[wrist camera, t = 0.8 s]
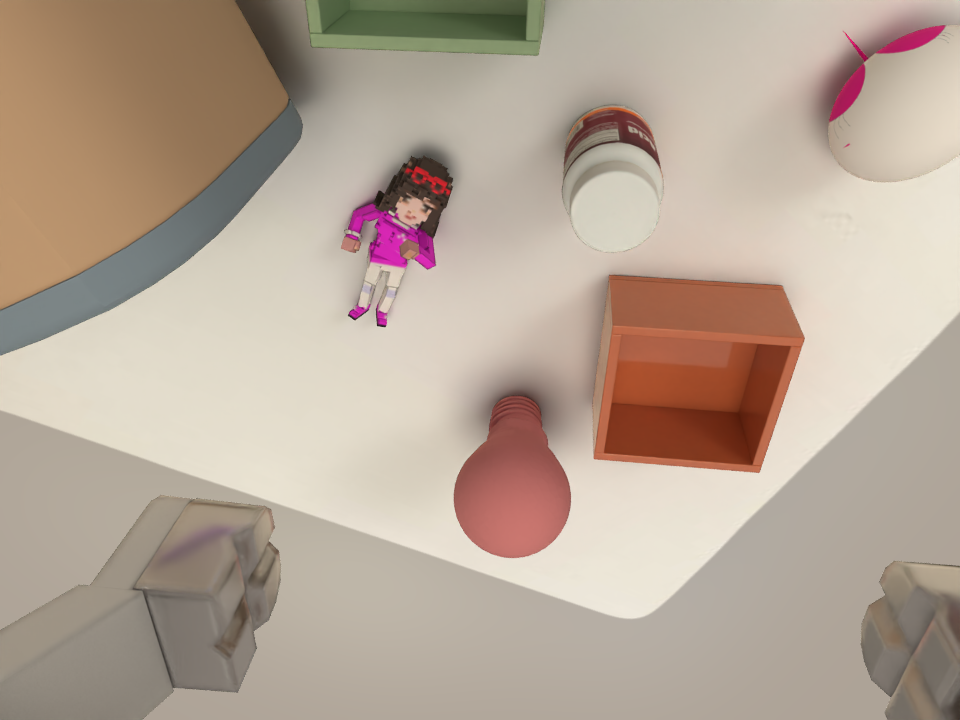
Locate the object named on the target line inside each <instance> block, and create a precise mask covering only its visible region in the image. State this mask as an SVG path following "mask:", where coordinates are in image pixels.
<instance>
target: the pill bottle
mask: <svg viewBox="0 0 960 720" xmlns="http://www.w3.org/2000/svg"><path fill="white" fill-rule="evenodd" d="M663 190H664V182H663V176H662V172H661V167H660V162H659V158H658V153H657V149H656V146H655V141H654V137H653V134H652V131H651V129H650V127H649V125H648V123H647V122H646V121H645V119H644V118H643V117H642V116H641V115H640V114H638V113H637V112H635V111H634V110H632V109H630V108H627V107H624V106H617V105H608V106H602V107H598V108H596V109H593V110H591V111H589V112H587V113H585V114H584V115H583V116H582V117H581V118H580V119H578V120H577V122H576V123H575V124H574V126H573V127H572V129H571V131H570V132H569V135H568V137H567V141H566V146H565V157H564V172H563V186H562V197H563V202H564V205H565V208H566V211H567V213H568V215H569V216H570V220H571V224H572V227H573V229H574V231H575V233H576V235H577V236H578V238H579V239H580V240H582V241H583V242H584V243H585V244H586V245H588V246H589V247H591V248H593V249H595V250H598V251H602V252H607V253H617V252H623V251H627V250H630V249H632V248H635V247H637V246H638V245H640V244H641V243H643V242H644V241H645V240H646V239H647V238H648V237H649V236H650V235H651V234H652V232H653V231H654V229H655V227H656V225H657V222H658V219H659V214H660V204H661V201H662V198H663Z"/></svg>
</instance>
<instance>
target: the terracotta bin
mask: <svg viewBox="0 0 960 720" xmlns="http://www.w3.org/2000/svg"><path fill="white" fill-rule="evenodd" d="M804 339H805V338H804V335H803V333H802V331H801V328H800V326H799V324H798V321H797V319H796V317H795V314H794V312H793V310H792V307H791V305H790V303H789V300H788V298H787V296H786V294H785V291H784V289H783V286H779V285H763V284H746V283H730V282H714V281H697V280H681V279H665V278H648V277H632V276H616V275H609V281H608V288H607V296H606V304H605V311H604V319H603V326H602V334H601V341H600V349H599V357H598V364H597V372H596V379H595V387H594V395H593V402H592V407H593V408H592V409H593V454H594V459H598V460H610V461H622V462H634V463H646V464H658V465H671V466H683V467H695V468H707V469H719V470H731V471H744V472H756V473H759V472H760V470H761V467H762V463H763V461H764V458H765V455H766V452H767V449H768V446H769V443H770V440H771V437H772V434H773V431H774V428H775V425H776V422H777V419H778V416H779V413H780V410H781V407H782V404H783V401H784V398H785V395H786V392H787V390H788V387H789V384H790V381H791V378H792V375H793V372H794V369H795V366H796V363H797V360H798V357H799V354H800V351H801V348H802V345H803V342H804Z"/></svg>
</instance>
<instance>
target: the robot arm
mask: <svg viewBox="0 0 960 720" xmlns="http://www.w3.org/2000/svg"><path fill="white" fill-rule="evenodd" d="M274 528H275V526H274V521H273V516H272V511H271V509H270V508H267V507H266V506H260V505H259V506H258V505H251V504H241V503H233V502H224V501H215V500H207V499H198V498H196V499H190V498H182V497H173V496H165V495H160V496H159V497H157V498H155V499H154V500H152V501H151V502H150V503H149V504H148V506H147V507H146V509H145V510H144V511H143V513H142V514H141V515H140V517H139V518H138V519H137V521H136V522H135V524H134V525H133V527H132V528H131V529H130V530H129V532H128V533H127V535H126V536H125V537H124V539H123V540H122V542H121V543H120V544H119V546H118V547H117V549H116V550H115V551H114V553H113V554H112V556H111V557H110V558H109V560H108V561H107V562H106V564H105V565H104V567H103V568H102V569H101V571H100V572H99V573H98V575H97V576H96V578H95V579H94V581H93V582H92V583H91V585H90V586H88V585H78V586H76V587H74V588H72V589H71V590H69V591H67V592H65V593H64V594H62V595H60V596H59V597H57V598H55V599H53V600H52V601H50V602H48V603H46V604H45V605H43V606H42V607H39V608H38V609H36V610H34V611H33V612H31V613H29V614H27V615H26V616H24V617H22V618H20V619H19V620H17V621H15V622H14V623H12V624H10V625H8V626H7V627H5V628H3V629H1V630H0V720H142V719H144V718H145V717H146V716H147V715H148V714H149V713H150V712H151V711H152V710H154V709H155V708H156V707H157V706H158V705H159V704H160V703H161V702H163V701H164V700H165V699H166V698H167V697H168V696H169V695H170V694H172V693H173V691H174V690H173V688H185V689H199V690H211V691H223V692H224V691H225V692H236V693H237V692H238V691H239V689H240V686H241V684H242V682H243V679H244V677H245V675H246V672H247V670H248V668H249V665H250V663H251V661H252V658H253V656H254V653H255V651H256V649H257V647H256V642H255V637H254V631H255V630H256V629H257V628H259V627H260V626H261V625H263V624H264V623H265V622H267V621H268V620H269V618H270V616H271V613H272V611H273V608H274V606H275V603H276V599H277V595H278V589H279V585H280V580H281V563H280V555H279V551H278V550H277V549H276V548H275V547H274V546H273V545H272V544H271V543H270V542H269V539H270V537H271V535H272V533H273V530H274ZM879 582H880V585H881V587H882V589H883V591H884V593H885V596H883V597H882V598H880V599H878V600H877V601H875V602H874V603H872V604H871V605H869V606H868V609H867V611H866V614H865V616H864V619H863V621H862V626H861V648H862V653H863V658H864V662H865V665H866V667H867V670H868V672H869V675H870V678H871V680H872V681H873V682H874V683H875V684H877V685H878V686H879V687H880V688H881V689H882V690H883V691H884V692H885V693H886V694H888V695H889V696H890V697H891V698H890V701H889V704H888V706H887V708H886V710H885V715H886V717H887V720H960V566H953V565H940V564H927V563H914V562H902V561H893V562H892V563H891V564H890V565H888V566H887V567H886V568H885V570H884V572H883V574H882V577H881V579H880V581H879Z"/></svg>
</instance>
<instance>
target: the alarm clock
mask: <svg viewBox="0 0 960 720" xmlns="http://www.w3.org/2000/svg"><path fill="white" fill-rule="evenodd" d="M288 97H289V96H288V94H287V92H286V91H285V89H284V87H283V85H282V83H281V82H280V80H279V78H278V76H277V75H276V73H275V71H274V69H273V67H272V66H271V64H270V62H269V60H268V59H267V57H266V55H265V53H264V51H263V50H262V48H261V46H260V44H259V43H258V41H257V39H256V37H255V36H254V34H253V32H252V30H251V28H250V27H249V25H248V23H247V21H246V20H245V18H244V16H243V14H242V12H241V11H240V9H239V7H238V5H237V4H236V2H235V0H0V355H3V354H6V353H8V352H11V351H14V350H17V349H19V348H22V347H25V346H27V345H30V344H33V343H35V342H38V341H41V340H43V339H45V338H48V337H50V336H52V335H54V334H57V333H59V332H61V331H63V330H66V329H68V328H70V327H72V326H75V325H77V324H79V323H81V322H84V321H86V320H88V319H90V318H93V317H95V316H97V315H99V314H102V313H104V312H106V311H109V310H111V309H113V308H115V307H116V306H118V305H120V304H121V303H123V302H125V301H127V300H128V299H130V298H132V297H133V296H135V295H137V294H139V293H140V292H142V291H144V290H145V289H147V288H149V287H150V286H152V285H154V284H155V283H157V282H158V281H160V280H161V279H162V278H164V277H165V276H167V275H168V274H170V273H171V272H172V271H174V270H175V269H177V268H178V267H179V266H181V265H182V264H184V263H185V262H186V261H188V260H189V259H190V258H191V257H192V256H194V255H195V254H196V253H197V252H198V251H199V250H201V249H202V248H203V247H204V246H205V245H206V244H208V243H209V242H210V241H211V240H212V239H214V238H215V237H216V236H217V235H218V234H219V233H220V232H221V231H222V230H223V229H224V228H225V227H226V226H227V225H228V224H229V223H230V221H231V220H232V219H233V218H234V217H235V216H236V215H237V214H238V213H239V212H240V210H241V209H242V208H243V207H244V206H245V205H246V203H247V202H248V201H249V200H250V199H251V198H252V196H253V195H254V194H255V193H256V192H257V191H258V189H259V188H260V187H261V186H262V185H263V184H264V183H265V181H266V180H267V179H268V178H269V177H270V176H271V174H272V173H273V172H274V171H275V170H276V169H277V167H278V166H279V165H280V164H281V163H282V162H283V160H284V159H285V158H286V157H287V156H288V155H289V153H290V152H291V151H292V150H293V149H294V147H295V146H296V144H297V143H298V141H299V140H300V138H301V134H302V128H303V124H302V120H301V117H300V115H299V114H298V112H297V110H296V108H295V107H294V105H293V103H292V101H291V99H288Z"/></svg>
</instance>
